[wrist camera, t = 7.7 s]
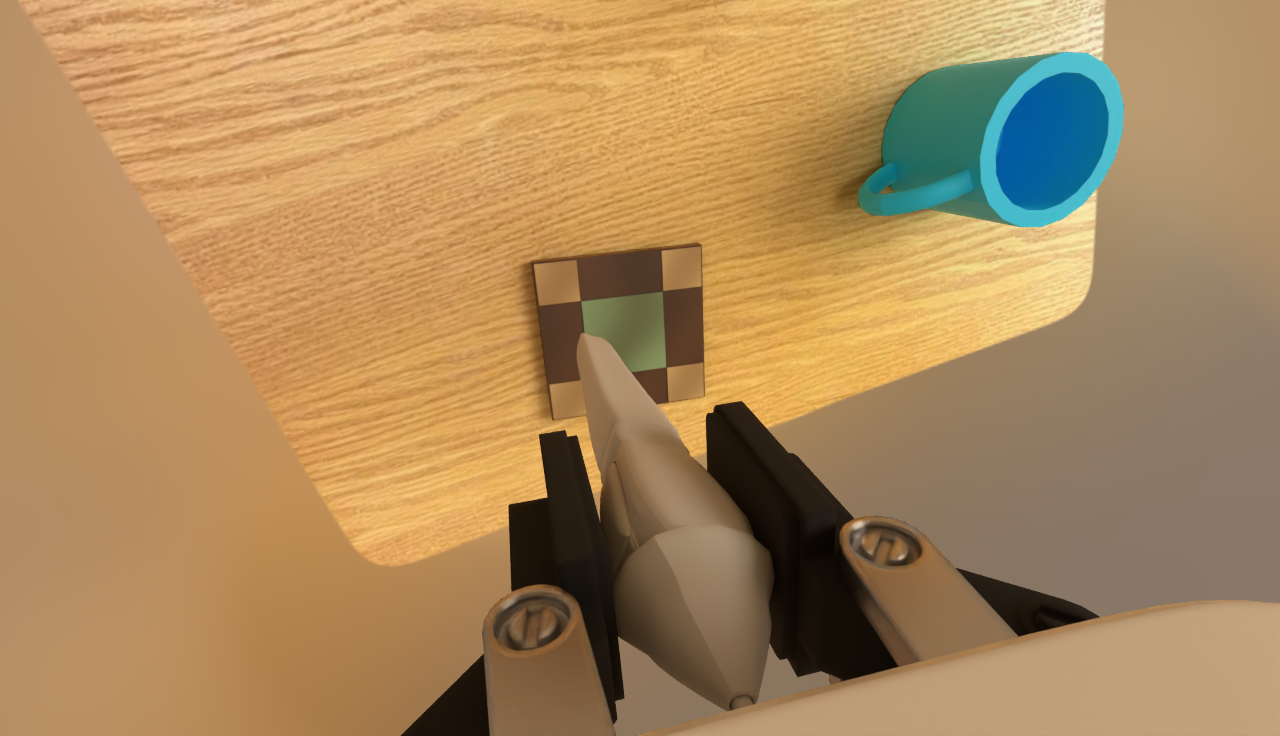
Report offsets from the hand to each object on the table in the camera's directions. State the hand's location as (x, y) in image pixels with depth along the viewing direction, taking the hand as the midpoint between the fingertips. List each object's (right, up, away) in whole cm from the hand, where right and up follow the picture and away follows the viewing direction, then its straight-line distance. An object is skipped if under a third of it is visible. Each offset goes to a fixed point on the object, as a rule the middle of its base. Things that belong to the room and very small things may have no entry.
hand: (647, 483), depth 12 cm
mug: (+17, +16, +25) cm, 34 cm away
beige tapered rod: (-2, +3, +8) cm, 9 cm away
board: (-1, +5, +25) cm, 25 cm away
